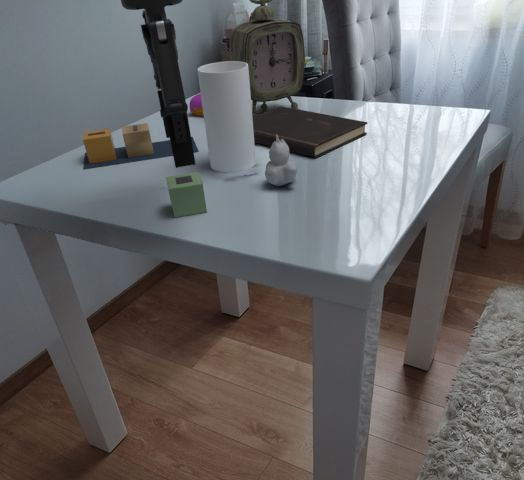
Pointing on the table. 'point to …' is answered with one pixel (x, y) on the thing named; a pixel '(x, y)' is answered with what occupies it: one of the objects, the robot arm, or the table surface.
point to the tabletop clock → (269, 55)
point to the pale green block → (186, 194)
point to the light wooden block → (137, 140)
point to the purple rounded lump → (196, 105)
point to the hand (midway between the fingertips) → (179, 149)
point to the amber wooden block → (99, 146)
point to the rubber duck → (280, 164)
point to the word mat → (159, 149)
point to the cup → (228, 115)
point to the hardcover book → (306, 130)
